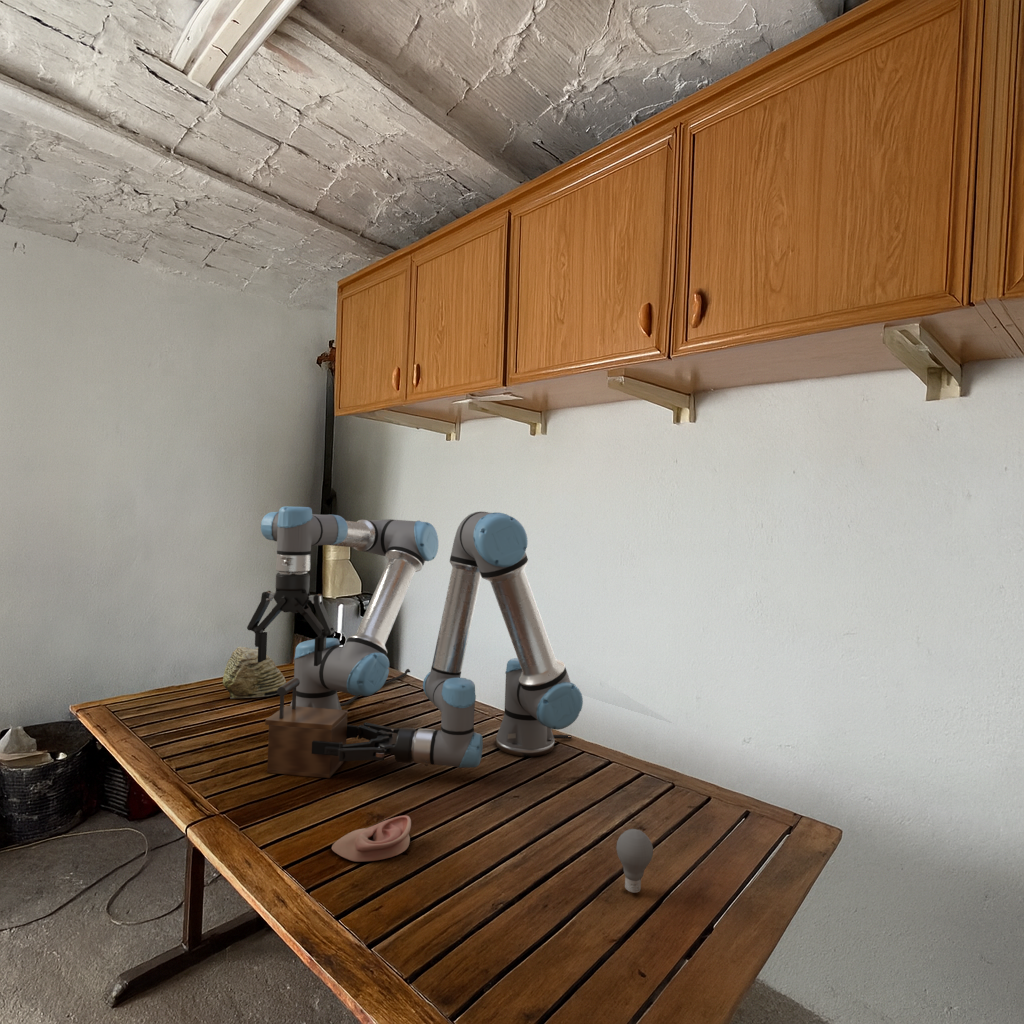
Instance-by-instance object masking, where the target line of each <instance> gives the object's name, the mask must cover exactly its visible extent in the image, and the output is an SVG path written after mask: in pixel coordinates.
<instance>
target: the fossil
mask: <svg viewBox="0 0 1024 1024" xmlns="http://www.w3.org/2000/svg"><path fill="white" fill-rule="evenodd" d="M222 676H223V677H222V685H223V687H224V688H225V690H226V691H228V693H229V698H230V699H250V698H264V697H271V696H275V695H278V693H277V689H278V688H279V687H281V686H282V685H284V684H285V683H287V680H286V678H285V676H284V674H283V673H282V672H281V669H279V668H278V667H277V665H276V663H275V662H274V660H273V659H272V658H271V657H270V656H269V655H268V654H267V653H266V660H264V661H262V662H258V647H256V648H251V647H247V646H246V647H245V646H238V647H237V648H236V649H235V650H233V651H232V653H231V656H230V657H229V659H228V660H227V663H226V666H225V668H224V671H223V675H222Z"/></svg>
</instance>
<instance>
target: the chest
mask: <svg viewBox="0 0 1024 1024" xmlns="http://www.w3.org/2000/svg"><path fill="white" fill-rule="evenodd" d="M347 725H348V715H347V716H346V717H345V718H344V719H342V720H341V721H340V722H339V723H338V724H337V725H336V726H335V727H334V728H333V729H332V730H326V729H314V728H301V727H288V726H276V725H268V741H267V743H268V744H267V765H266V767H267V770H266V773H267V774H278V775H290V776H299V777H310V778H312V777H313V778H323V779H324V778H325V779H331V777H332V776H333V775H334V774H335V773H336V772H337V771H338V769H340V767H341V766H342V765H343V764H344V762H345V761H339V756H333V755H321V754H312V741H325V742H338V743H340V742H342V743H343V745H345V744H347V740H348V739H347V738H348V737H347Z"/></svg>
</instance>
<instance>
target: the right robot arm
mask: <svg viewBox="0 0 1024 1024" xmlns="http://www.w3.org/2000/svg"><path fill="white" fill-rule="evenodd" d="M528 542H529V541H528V534H527V532H526V529H525V527H524V526H523V524H522V523H521V522H520V521H519V520H518V519H516V518H515V517H514V516H511V515H509V514H507V513H503V512H488V511H475V512H473V513H469V514H468V515H467V516H466V517H464V518H463V519H462V521H461V522H460V523H459V525H458V527H457V529H456V532H455V536H454V539H453V542H452V547H451V553H450V556H449V563H450V565H451V567H452V568H451V571H450V573H451V574H450V577H449V581H448V585H447V586H448V587H447V592H446V596H445V601H444V606H443V611H442V616H441V620H440V625H439V630H438V635H437V640H436V645H435V650H434V653H433V659H432V664H431V666H430V667H431V668H430V671H429V672H428V673H427V674H426V675H425V677H424V678H423V681H422V689H423V692H424V694H425V696H426V698H427V699H428V700H429V701H430V702H432V703H433V705H434V706H435V707H436V709H438V711H440V713H441V714H440V716H441V717H440V720H441V721H440V723H441V724H440V729H430V728H418V729H416V728H415V727H391V726H385V725H381V724H375V723H371V722H364V723H363V724H358V725H353V724H347V738H350V739H358V740H361V739H365V740H367V741H361V742H355V743H346V744H345V745H343V743H342V742H340V743H338V742H325V741H312V754H321V755H333V756H339V761H344V762H359V761H378V762H383V761H385V756H388V755H393V756H394V759H395V761H396V762H398V763H405V764H411V763H414V764H420V765H424V766H426V767H427V766H429V765H432V766H445V767H454V768H459V769H464V768H465V769H470V768H473V769H474V768H477V767H479V765H481V761H482V757H483V747H484V746H483V745H484V741H483V739H484V738H483V735H482V734H481V733H478V732H476V731H475V728H474V727H475V725H474V724H475V707H476V700H477V695H476V684H475V682H474V681H473V680H472V679H470V678H469V679H468V678H466V677H461V675H462V669H463V665H464V660H465V656H466V650H467V647H468V642H469V636H470V631H471V628H472V622H473V618H474V613H475V608H476V604H477V599H478V595H479V590H480V585H481V581H482V579H483V580H486V581H488V582H489V583H490V585H491V588H492V591H493V594H494V596H495V599H496V602H497V605H498V607H499V610H500V613H501V617H502V619H503V621H504V624H505V626H506V630H507V632H508V635H509V638H510V640H511V643H512V647H513V649H514V652H515V654H516V657H514V658H510V659H509V660H508V661H507V663H506V668H505V686H504V687H505V688H504V711H503V712H504V713H503V716H502V717H503V718H502V720H501V723H500V725H499V728H498V731H497V733H496V738H495V739H496V740H495V745H496V747H497V748H498V750H500V751H502V752H504V753H506V754H509V755H512V756H518V757H526V758H527V757H530V758H531V757H540V756H545V755H547V754H549V753H551V752H552V751H554V749H555V739H559V740H560V739H561V740H572V738H573V737H572V735H571V734H554V733H553V730H556V731H557V730H558V731H559V730H564V729H566V728H568V727H570V726H571V725H572V724H574V723H575V721H577V719H578V718H579V716H580V715H579V714H580V713H581V712H582V709H583V704H584V698H583V694H582V691H581V690H580V688H579V687H578V686H577V685H576V684H575V683H573V682H572V681H571V678H570V677H569V674H568V670H567V669H566V665H565V662H564V661H562V660H560V659H557V657H556V656H555V652H554V649H553V647H552V644H551V640H550V637H549V636H548V635H549V634H548V633H547V629H546V627H545V624H544V621H543V618H542V615H541V612H540V609H539V607H538V604H537V601H536V598H535V595H534V592H533V589H532V587H531V584H530V581H529V578H528V575H527V571H526V567H527V566H528V563H529V558H528V556H527V552H526V550H527V548H528ZM568 736H571V737H568Z"/></svg>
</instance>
